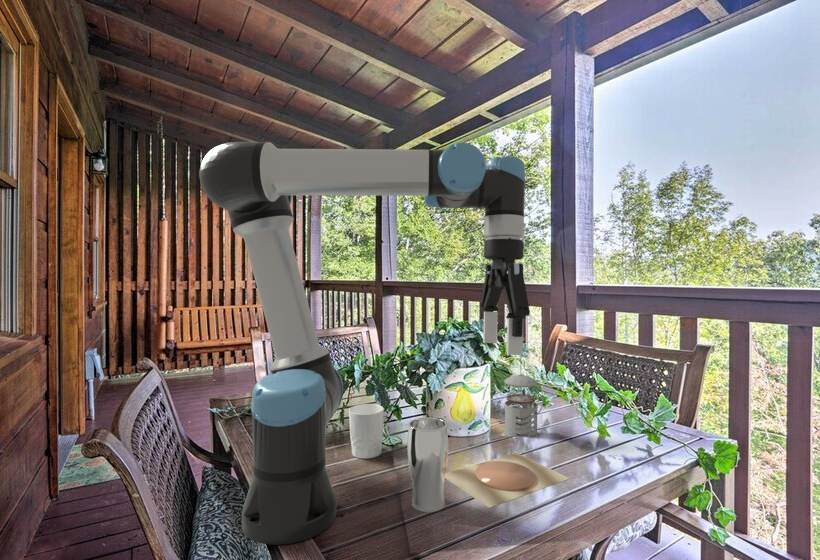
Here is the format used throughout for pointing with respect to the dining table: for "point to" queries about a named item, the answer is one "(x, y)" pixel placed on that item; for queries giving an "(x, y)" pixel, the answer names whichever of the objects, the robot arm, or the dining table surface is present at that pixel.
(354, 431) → the white cup
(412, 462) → the beer glass
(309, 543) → the dining table surface
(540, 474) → the beige mat with oval
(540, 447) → the dining table surface
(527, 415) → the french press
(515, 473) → the coaster
